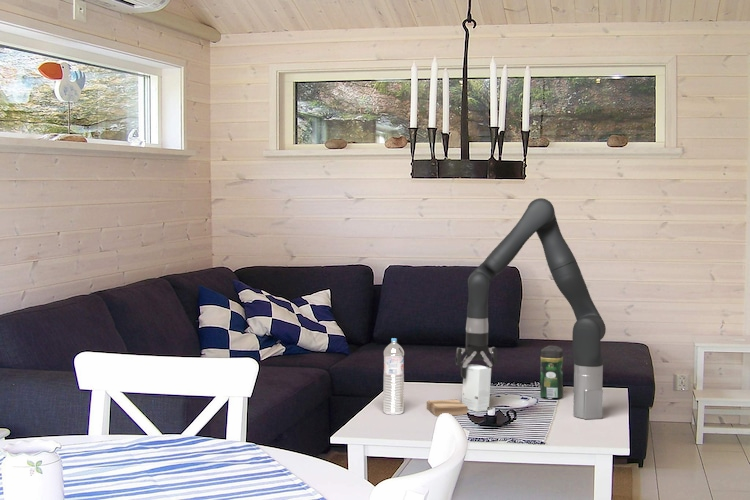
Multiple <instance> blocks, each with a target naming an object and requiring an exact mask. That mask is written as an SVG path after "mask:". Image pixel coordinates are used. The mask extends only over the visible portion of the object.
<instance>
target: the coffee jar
mask: <svg viewBox="0 0 750 500" xmlns="http://www.w3.org/2000/svg"><path fill="white" fill-rule="evenodd" d="M563 378H564V350H563V348H562V347H560V346H559V345H547V346H545V347H543V348H542V349H541V350H540V386H539V387H540V389H539V390H540V392H539V394H540V395H539V396H540V398H542V397H546V398H560V399H561V398H562V397H563V394H564V393H563V392H564V386H563V383H564V382H563V381H564V380H563ZM546 398H545V399H546Z"/></svg>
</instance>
